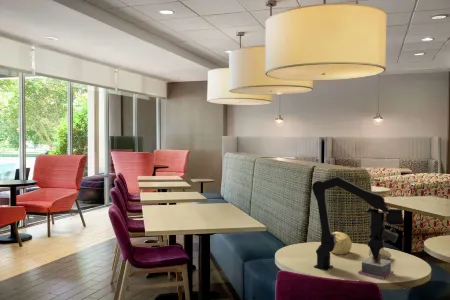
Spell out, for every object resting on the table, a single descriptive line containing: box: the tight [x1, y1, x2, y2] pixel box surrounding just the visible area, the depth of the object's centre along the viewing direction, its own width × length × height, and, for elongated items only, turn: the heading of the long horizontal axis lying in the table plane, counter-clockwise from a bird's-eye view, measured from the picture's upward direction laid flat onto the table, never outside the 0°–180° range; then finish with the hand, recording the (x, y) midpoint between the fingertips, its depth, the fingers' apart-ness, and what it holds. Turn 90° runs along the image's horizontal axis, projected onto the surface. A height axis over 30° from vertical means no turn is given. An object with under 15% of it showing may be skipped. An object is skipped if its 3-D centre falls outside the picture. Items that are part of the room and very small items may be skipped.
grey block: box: [358, 256, 395, 280], centre depth 183 cm, size 11×11×6 cm
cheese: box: [368, 247, 392, 260], centre depth 203 cm, size 15×7×15 cm
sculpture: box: [331, 231, 352, 255], centre depth 215 cm, size 12×12×11 cm
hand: (376, 258), depth 183 cm, fingers closed on plunger, 4 cm apart
